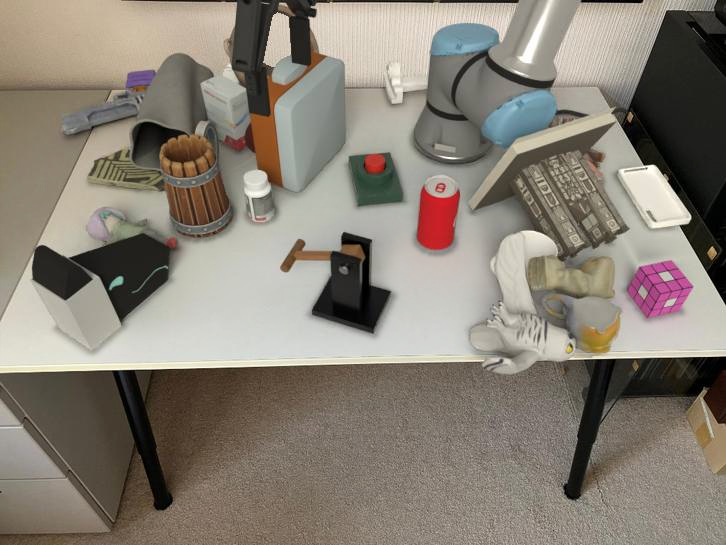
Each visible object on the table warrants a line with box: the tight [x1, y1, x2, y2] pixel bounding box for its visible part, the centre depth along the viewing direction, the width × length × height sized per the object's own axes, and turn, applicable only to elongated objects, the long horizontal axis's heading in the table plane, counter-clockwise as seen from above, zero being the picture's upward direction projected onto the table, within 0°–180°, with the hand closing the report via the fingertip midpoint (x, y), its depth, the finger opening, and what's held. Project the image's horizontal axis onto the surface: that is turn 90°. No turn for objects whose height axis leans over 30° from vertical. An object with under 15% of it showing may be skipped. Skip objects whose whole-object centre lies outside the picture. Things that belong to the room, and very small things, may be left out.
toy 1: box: [86, 206, 178, 249], centre depth 103 cm, size 11×5×15 cm
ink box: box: [200, 73, 251, 151], centre depth 121 cm, size 9×5×12 cm, turn 48°
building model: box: [467, 106, 631, 263], centre depth 103 cm, size 20×20×18 cm
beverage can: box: [416, 174, 461, 251], centre depth 102 cm, size 6×6×12 cm
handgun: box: [59, 69, 157, 136], centre depth 131 cm, size 3×22×15 cm
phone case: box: [616, 164, 692, 230], centre depth 113 cm, size 7×1×15 cm
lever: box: [279, 238, 365, 274], centre depth 90 cm, size 12×6×2 cm, turn 69°
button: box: [365, 153, 385, 173], centre depth 113 cm, size 4×4×2 cm
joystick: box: [383, 60, 428, 105], centre depth 134 cm, size 11×8×20 cm
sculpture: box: [528, 254, 616, 300], centre depth 93 cm, size 6×7×15 cm
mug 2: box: [539, 291, 623, 355], centre depth 91 cm, size 12×7×7 cm, turn 50°
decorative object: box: [29, 233, 171, 352], centre depth 91 cm, size 8×18×15 cm, turn 147°
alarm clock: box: [250, 51, 347, 193], centre depth 112 cm, size 18×9×21 cm, turn 152°
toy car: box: [221, 61, 243, 87], centre depth 135 cm, size 6×12×7 cm, turn 159°
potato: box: [245, 122, 256, 155], centre depth 120 cm, size 7×8×7 cm
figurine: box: [548, 116, 606, 191], centre depth 119 cm, size 7×5×20 cm
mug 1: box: [159, 120, 233, 239], centre depth 105 cm, size 16×11×15 cm
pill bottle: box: [242, 169, 276, 223], centre depth 107 cm, size 5×5×8 cm
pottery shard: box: [86, 147, 166, 192], centre depth 115 cm, size 11×16×2 cm, turn 48°
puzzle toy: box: [627, 259, 694, 319], centre depth 95 cm, size 6×6×6 cm
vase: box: [128, 52, 215, 172], centre depth 121 cm, size 12×12×30 cm
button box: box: [348, 151, 404, 207], centre depth 115 cm, size 8×12×4 cm, turn 9°
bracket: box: [311, 231, 392, 335], centre depth 91 cm, size 10×8×13 cm
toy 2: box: [468, 231, 577, 375], centre depth 88 cm, size 24×13×15 cm
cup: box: [489, 230, 558, 287], centre depth 98 cm, size 8×10×7 cm
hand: (281, 87), depth 84 cm, fingers open, 13 cm apart
